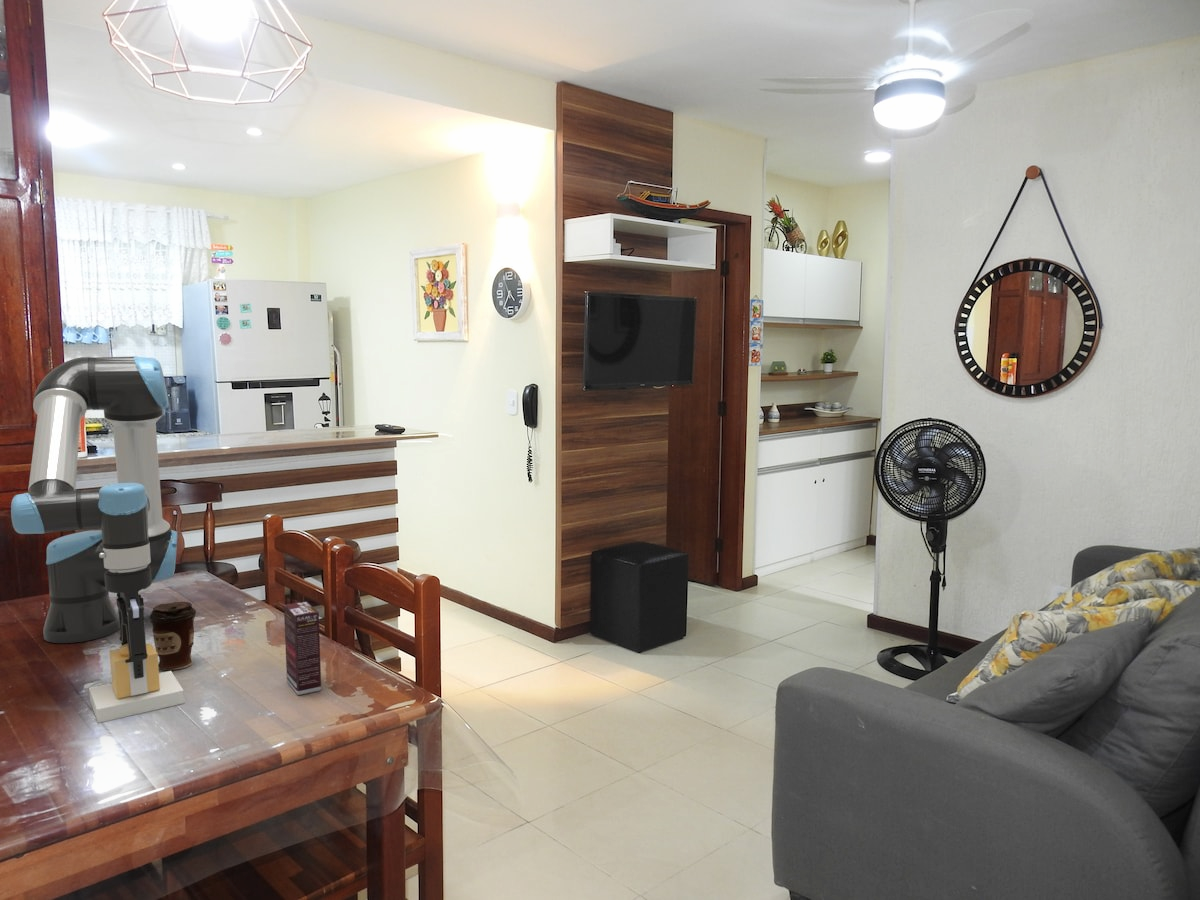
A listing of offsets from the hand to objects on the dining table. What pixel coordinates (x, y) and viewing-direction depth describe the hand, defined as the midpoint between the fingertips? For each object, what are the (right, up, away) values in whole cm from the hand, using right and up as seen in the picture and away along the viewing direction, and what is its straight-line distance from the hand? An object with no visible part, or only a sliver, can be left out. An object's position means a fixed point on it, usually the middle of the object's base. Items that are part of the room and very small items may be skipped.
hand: (135, 686), depth 157 cm
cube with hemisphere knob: (0, 0, 0) cm, 0 cm away
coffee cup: (-2, -1, +18) cm, 18 cm away
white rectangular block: (0, -3, 0) cm, 3 cm away
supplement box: (+29, -2, +8) cm, 30 cm away
